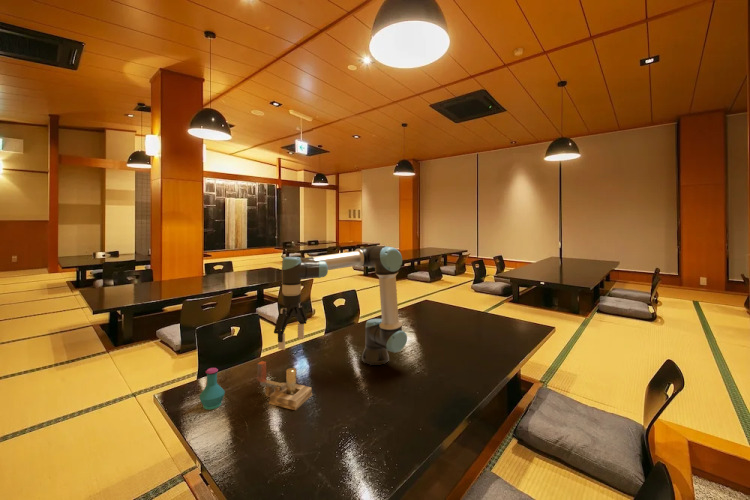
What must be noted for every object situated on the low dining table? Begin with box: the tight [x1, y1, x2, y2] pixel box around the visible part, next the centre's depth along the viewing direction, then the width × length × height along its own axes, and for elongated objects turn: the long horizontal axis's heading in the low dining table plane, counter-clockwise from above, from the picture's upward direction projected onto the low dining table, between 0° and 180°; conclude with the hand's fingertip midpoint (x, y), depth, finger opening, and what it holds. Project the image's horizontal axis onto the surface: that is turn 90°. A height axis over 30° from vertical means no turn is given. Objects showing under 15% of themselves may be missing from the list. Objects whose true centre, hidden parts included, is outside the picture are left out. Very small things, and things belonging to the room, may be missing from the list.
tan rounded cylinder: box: [285, 367, 297, 396], centre depth 137 cm, size 4×4×12 cm
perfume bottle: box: [199, 367, 226, 410], centre depth 132 cm, size 9×9×15 cm
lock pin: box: [256, 360, 284, 390], centre depth 141 cm, size 12×3×10 cm, turn 70°
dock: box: [265, 382, 314, 411], centre depth 139 cm, size 18×13×5 cm
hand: (291, 343), depth 136 cm, fingers open, 13 cm apart
